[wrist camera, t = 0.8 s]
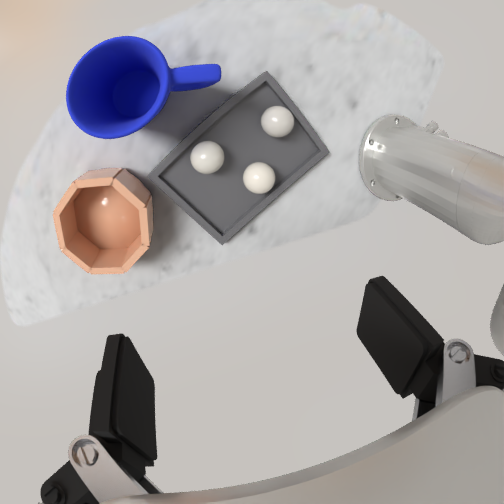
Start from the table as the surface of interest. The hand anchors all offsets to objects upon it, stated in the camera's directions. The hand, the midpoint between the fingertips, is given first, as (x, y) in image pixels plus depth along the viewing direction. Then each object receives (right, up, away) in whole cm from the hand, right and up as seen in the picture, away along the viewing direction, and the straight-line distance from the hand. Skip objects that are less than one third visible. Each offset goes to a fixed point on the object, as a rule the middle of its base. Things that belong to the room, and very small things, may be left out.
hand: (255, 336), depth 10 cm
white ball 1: (-5, +14, +18) cm, 23 cm away
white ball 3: (+2, +18, +18) cm, 25 cm away
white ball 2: (0, +12, +21) cm, 24 cm away
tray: (-1, +14, +20) cm, 24 cm away
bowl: (-17, +8, +19) cm, 26 cm away
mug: (-10, +20, +14) cm, 27 cm away
